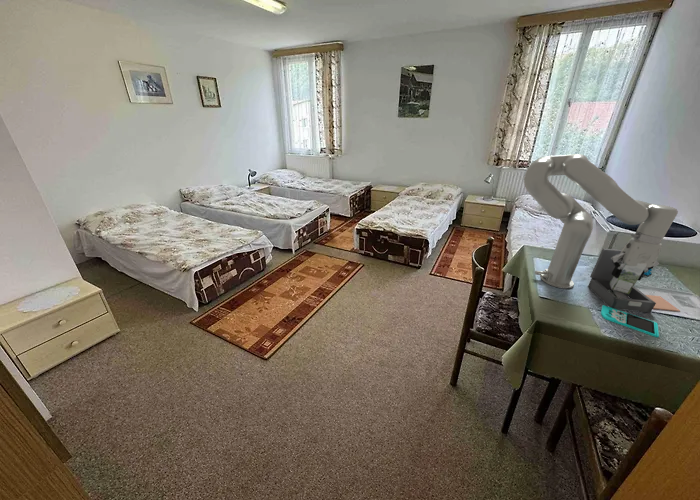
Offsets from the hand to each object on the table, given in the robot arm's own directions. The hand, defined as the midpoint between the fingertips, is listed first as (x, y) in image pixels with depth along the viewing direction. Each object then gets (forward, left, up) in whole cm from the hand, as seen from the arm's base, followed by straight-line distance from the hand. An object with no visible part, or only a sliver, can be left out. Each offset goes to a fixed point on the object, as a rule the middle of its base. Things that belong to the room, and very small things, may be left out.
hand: (625, 277), depth 115 cm
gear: (+27, +28, -11) cm, 41 cm away
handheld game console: (-4, -16, -11) cm, 20 cm away
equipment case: (+1, 0, -10) cm, 10 cm away
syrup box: (0, 0, -6) cm, 6 cm away
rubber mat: (+15, 0, -10) cm, 18 cm away
